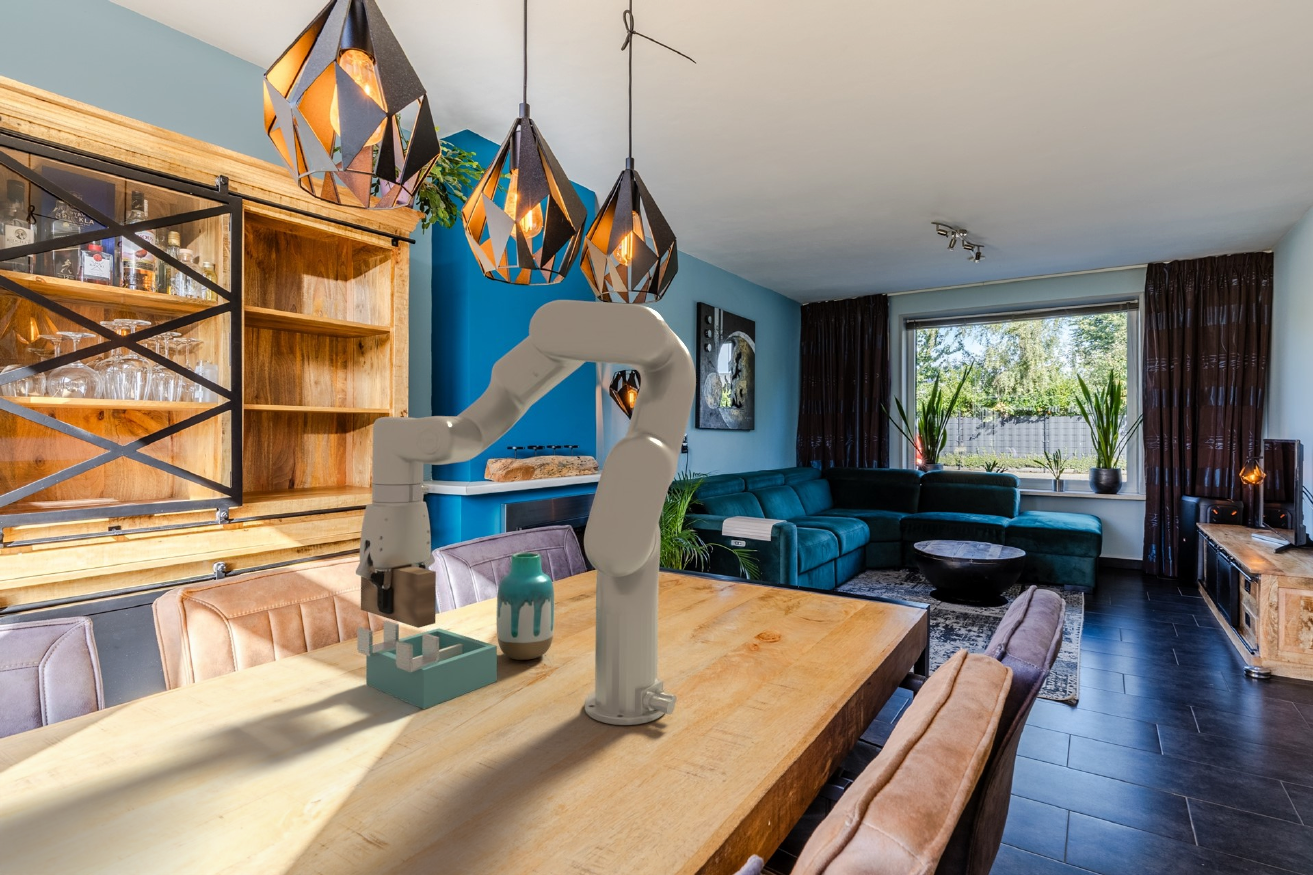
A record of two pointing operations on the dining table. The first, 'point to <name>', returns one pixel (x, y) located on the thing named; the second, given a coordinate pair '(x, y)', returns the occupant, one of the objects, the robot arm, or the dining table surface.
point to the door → (405, 596)
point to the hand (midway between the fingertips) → (396, 608)
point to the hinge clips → (399, 647)
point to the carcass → (435, 670)
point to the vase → (525, 609)
